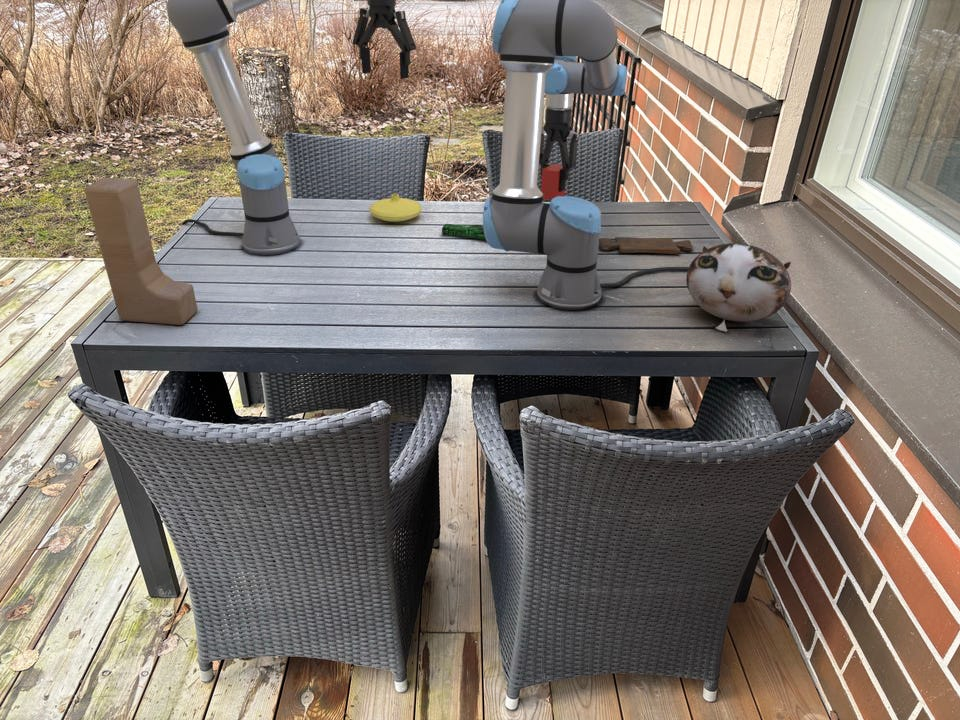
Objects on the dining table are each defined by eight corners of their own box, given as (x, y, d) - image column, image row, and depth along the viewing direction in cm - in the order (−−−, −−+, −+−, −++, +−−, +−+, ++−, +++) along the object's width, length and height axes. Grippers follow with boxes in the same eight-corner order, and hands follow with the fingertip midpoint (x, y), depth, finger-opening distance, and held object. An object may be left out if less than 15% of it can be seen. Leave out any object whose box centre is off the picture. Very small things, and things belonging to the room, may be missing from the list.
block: (564, 195, 215) (567, 166, 211) (554, 201, 211) (556, 171, 206) (550, 192, 217) (552, 163, 213) (540, 198, 213) (542, 168, 208)
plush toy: (664, 307, 155) (693, 222, 157) (679, 329, 171) (705, 252, 172) (770, 332, 145) (800, 241, 146) (775, 353, 160) (802, 271, 162)
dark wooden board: (696, 256, 194) (688, 243, 203) (697, 250, 194) (689, 237, 202) (601, 253, 195) (597, 240, 203) (602, 247, 194) (598, 234, 202)
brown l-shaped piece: (183, 326, 156) (152, 191, 140) (118, 321, 157) (81, 187, 142) (199, 311, 162) (172, 180, 147) (137, 306, 164) (103, 176, 148)
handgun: (511, 219, 210) (493, 234, 198) (511, 228, 211) (492, 244, 199) (461, 212, 215) (440, 226, 203) (461, 221, 217) (440, 236, 204)
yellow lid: (393, 205, 227) (392, 183, 223) (432, 216, 219) (432, 193, 215) (359, 219, 216) (357, 196, 212) (398, 230, 208) (397, 207, 204)
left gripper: (427, -10, 183) (429, 78, 194) (354, -14, 195) (360, 69, 206) (409, -8, 178) (412, 82, 188) (335, -13, 189) (342, 72, 200)
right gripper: (593, 109, 199) (586, 191, 211) (537, 101, 208) (533, 180, 220) (581, 114, 194) (574, 197, 206) (524, 105, 202) (521, 186, 214)
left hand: (385, 75), depth 197 cm, fingers open, 13 cm apart
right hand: (553, 188), depth 213 cm, fingers closed on block, 5 cm apart
